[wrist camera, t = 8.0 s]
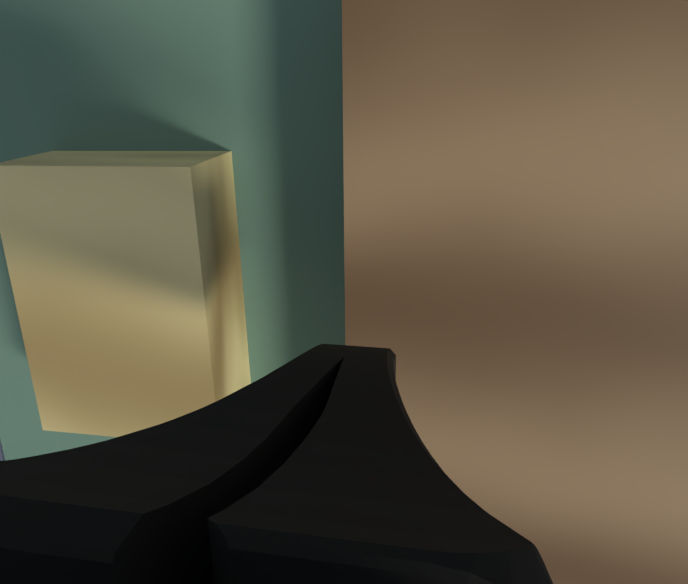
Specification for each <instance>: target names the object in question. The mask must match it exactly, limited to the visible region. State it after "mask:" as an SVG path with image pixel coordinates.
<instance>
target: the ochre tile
mask: <svg viewBox="0 0 688 584" xmlns="http://www.w3.org/2000/svg"><path fill="white" fill-rule="evenodd" d="M0 234H1V239H2V243H3V248H4V253H5V257H6V262H7V267H8V271H9V276H10V280H11V285H12V290H13V294H14V299H15V304H16V308H17V313H18V317H19V322H20V327H21V331H22V336H23V341H24V345H25V350H26V355H27V359H28V364H29V368H30V373H31V378H32V382H33V387H34V392H35V396H36V401H37V405H38V410H39V415H40V419H41V424H42V429H43V430H46V431H57V432H67V433H78V434H89V435H100V436H110V437H119V436H123V435H126V434H129V433H133V432H136V431H139V430H143V429H146V428H149V427H153V426H156V425H159V424H162V423H165V422H168V421H170V420H173V419H175V418H178V417H181V416H183V415H186V414H188V413H191V412H193V411H196V410H198V409H200V408H203V407H205V406H207V405H210V404H212V403H214V402H216V401H218V400H220V399H222V398H224V397H226V396H228V395H230V394H232V393H234V392H236V391H238V390H239V389H241V388H243V387H245V386H247V385H249V384H251V377H250V365H249V353H248V341H247V330H246V318H245V306H244V294H243V282H242V270H241V258H240V246H239V234H238V222H237V210H236V198H235V186H234V175H233V163H232V151H49V152H45V153H40V154H36V155H31V156H27V157H22V158H18V159H13V160H9V161H4V162H0Z"/></svg>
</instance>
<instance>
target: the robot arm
mask: <svg viewBox="0 0 688 584" xmlns="http://www.w3.org/2000/svg"><path fill="white" fill-rule="evenodd" d="M0 584H553V582H552V580H551V577H550V575H549V573H548V570H547V568H546V566H545V564H544V561H543V559H542V557H541V555H540V553H539V551H538V549H537V548H536V546H535V545H534V544H533V543H532V542H531V541H529V540H528V539H526V538H525V537H523V536H522V535H520V534H519V533H517V532H516V531H514V530H513V529H511V528H510V527H508V526H507V525H505V524H504V523H502V522H501V521H499V520H498V519H496V518H495V517H493V516H492V515H490V514H489V513H487V512H486V511H485V510H483V509H482V508H481V507H480V506H479V505H478V504H476V503H475V502H474V501H473V500H472V499H470V498H469V497H468V496H467V495H466V494H465V493H463V492H462V490H461V489H460V488H459V487H458V486H457V485H456V484H455V483H454V482H453V481H452V480H451V479H450V478H449V477H448V476H447V475H446V474H445V472H444V471H443V470H442V469H441V467H440V466H439V465H438V463H437V462H436V461H435V459H434V458H433V457H432V455H431V454H430V452H429V451H428V449H427V448H426V446H425V445H424V443H423V442H422V440H421V439H420V437H419V435H418V433H417V432H416V430H415V428H414V426H413V424H412V422H411V420H410V418H409V416H408V414H407V412H406V409H405V407H404V404H403V402H402V399H401V396H400V393H399V390H398V387H397V384H396V355H395V353H394V352H393V351H392V350H391V349H390V348H378V347H364V346H349V345H335V344H320V345H317V346H315V347H313V348H312V349H310V350H308V351H306V352H304V353H303V354H301V355H299V356H298V357H296V358H294V359H293V360H291V361H289V362H288V363H286V364H284V365H283V366H281V367H279V368H278V369H276V370H274V371H272V372H271V373H269V374H267V375H266V376H264V377H262V378H260V379H259V380H257V381H255V382H253V383H251V384H249V385H247V386H245V387H243V388H241V389H239V390H238V391H236V392H234V393H232V394H230V395H228V396H226V397H224V398H222V399H220V400H218V401H216V402H214V403H212V404H210V405H207V406H205V407H203V408H200V409H198V410H196V411H193V412H191V413H188V414H186V415H183V416H181V417H178V418H175V419H173V420H170V421H168V422H165V423H162V424H159V425H156V426H153V427H149V428H146V429H143V430H139V431H136V432H133V433H129V434H126V435H123V436H119V437H116V438H113V439H110V440H106V441H102V442H98V443H94V444H90V445H85V446H81V447H77V448H73V449H68V450H63V451H58V452H53V453H48V454H43V455H37V456H32V457H26V458H20V459H13V460H6V461H0Z"/></svg>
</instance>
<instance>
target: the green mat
mask: <svg viewBox="0 0 688 584" xmlns="http://www.w3.org/2000/svg"><path fill="white" fill-rule="evenodd" d="M49 151H232V163H233V175H234V186H235V198H236V210H237V222H238V234H239V246H240V258H241V270H242V282H243V294H244V306H245V318H246V330H247V341H248V353H249V365H250V377H251V383H253V382H255V381H257V380H259V379H260V378H262V377H264V376H266V375H267V374H269V373H271V372H272V371H274V370H276V369H278V368H279V367H281V366H283V365H284V364H286V363H288V362H289V361H291V360H293V359H294V358H296V357H298V356H299V355H301V354H303V353H304V352H306V351H308V350H310V349H312V348H313V347H315V346H317V345H320V344H335V345H345V271H344V170H343V70H342V0H0V162H4V161H9V160H13V159H18V158H22V157H27V156H31V155H36V154H40V153H45V152H49ZM113 438H116V437H110V436H100V435H89V434H78V433H67V432H57V431H46V430H43V429H42V424H41V419H40V415H39V410H38V405H37V401H36V396H35V392H34V387H33V382H32V378H31V373H30V368H29V364H28V359H27V355H26V350H25V345H24V341H23V336H22V331H21V327H20V322H19V317H18V313H17V308H16V304H15V299H14V294H13V290H12V285H11V280H10V276H9V271H8V267H7V262H6V257H5V253H4V248H3V243H2V239H1V234H0V440H1V444H2V449H3V453H4V457H5V461H6V460H13V459H20V458H26V457H32V456H37V455H43V454H48V453H53V452H58V451H63V450H68V449H73V448H77V447H81V446H85V445H90V444H94V443H98V442H102V441H106V440H110V439H113Z"/></svg>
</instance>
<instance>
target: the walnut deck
mask: <svg viewBox="0 0 688 584" xmlns="http://www.w3.org/2000/svg"><path fill="white" fill-rule="evenodd" d="M342 70H343V170H344V271H345V345H349V346H364V347H378V348H390V349H391V350H392V351H393V352H394V353H395V355H396V384H397V387H398V390H399V393H400V396H401V399H402V402H403V404H404V407H405V409H406V412H407V414H408V416H409V418H410V420H411V422H412V424H413V426H414V428H415V430H416V432H417V433H418V435H419V437H420V439H421V440H422V442H423V443H424V445H425V446H426V448H427V449H428V451H429V452H430V454H431V455H432V457H433V458H434V459H435V461H436V462H437V463H438V465H439V466H440V467H441V469H442V470H443V471H444V472H445V474H446V475H447V476H448V477H449V478H450V479H451V480H452V481H453V482H454V483H455V484H456V485H457V486H458V487H459V488H460V489H461V490H462V492H463V493H465V494H466V495H467V496H468V497H469V498H470V499H472V500H473V501H474V502H475V503H476V504H478V505H479V506H480V507H481V508H482V509H483V510H485V511H486V512H487V513H489V514H490V515H492V516H493V517H495V518H496V519H498V520H499V521H501V522H502V523H504V524H505V525H507V526H508V527H510V528H511V529H513V530H514V531H516V532H517V533H519V534H520V535H522V536H523V537H525V538H526V539H528V540H529V541H531V542H532V543H533V544H534V545H535V546H536V548H537V549H538V551H539V553H540V555H541V557H542V559H543V561H544V564H545V566H546V568H547V570H548V573H549V575H550V577H551V580H552V582H553V584H688V0H342Z"/></svg>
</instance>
